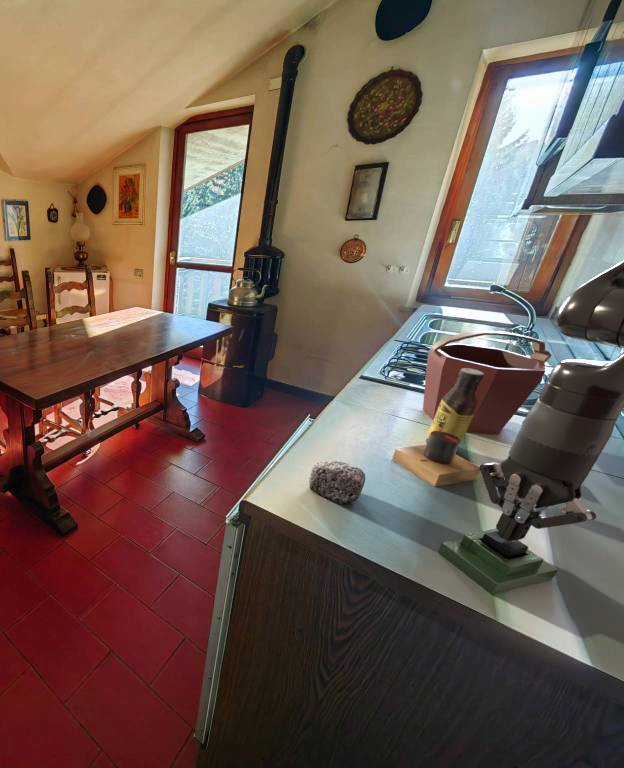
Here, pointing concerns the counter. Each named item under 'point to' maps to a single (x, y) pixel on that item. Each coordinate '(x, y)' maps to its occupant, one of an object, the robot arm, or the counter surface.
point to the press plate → (504, 545)
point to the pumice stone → (337, 481)
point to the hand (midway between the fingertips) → (506, 536)
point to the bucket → (500, 382)
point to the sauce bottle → (458, 405)
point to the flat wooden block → (435, 467)
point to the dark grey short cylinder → (441, 447)
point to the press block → (495, 564)
